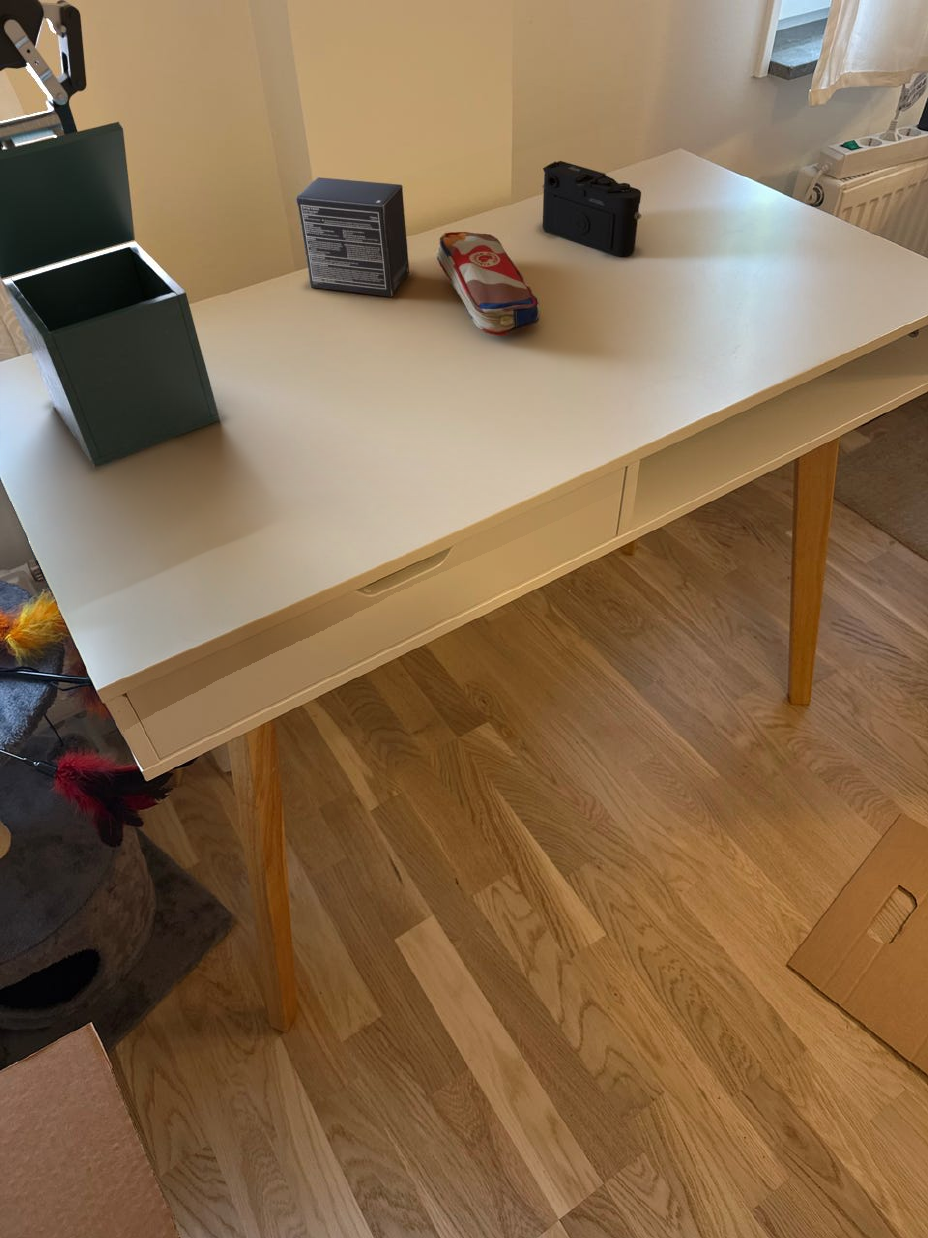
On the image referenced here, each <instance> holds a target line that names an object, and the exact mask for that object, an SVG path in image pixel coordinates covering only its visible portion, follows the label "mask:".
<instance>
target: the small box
mask: <svg viewBox="0 0 928 1238" xmlns="http://www.w3.org/2000/svg"><path fill="white" fill-rule="evenodd" d="M295 200H296V204H297V209H298V214H299V221H300V225H301V234H302V239H303V244H304V252H305V257H306V265H307V269H308V271H307V272H308V277H309V286H310V288H315V289H316V288H317V289H325V290H332V291H340V292H349V293H356V294H357V293H358V294H364V295H366V294H367V295H373V296H381V297H389V298H390V297H393V296H394V295H396V292H397V291H398V289H399V288H400V287H401V285H402V284H403V283H404V282H405V281H406V279H407V278H408V276H409V275H410V265H409V254H408V239H407V227H406V216H405V203H404V202H405V201H404V191H403V184H400V183H398V184H397V183H386V182H378V181H377V182H375V181H364V180H353V179H343V178H330V177H320V176H319V177H316V178H315V179H314V180H313V181H312V182H311V183H309V184H308V186H306V188H304V189H303V190H302V191H301V192H300V193H299V194H298V195H296V197H295Z"/></svg>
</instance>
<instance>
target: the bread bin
mask: <svg viewBox="0 0 928 1238" xmlns="http://www.w3.org/2000/svg"><path fill="white" fill-rule="evenodd" d="M1 283H2V285H3V288H4V291H5V292H6V294H7V297H8V299H9V301H10V304H11V307H12V309H13V311H14V314H15V316H16V320H17V321H18V324H19V326H20V328H21V331H22V333H23V335H24V338H25V340H26V343H27V346H28V347H29V350H30V352H31V354H32V357H33V359H34V362H35V364H36V367H37V369H38V371H39V374H40V377H41V378H42V382H43V384H44V386H45V388H46V391H47V394H48V396H49V398H50V401H51V403H52V405H53V407H54V408H55V410H56V411H57V413H58V414H59V416H60V417H61V419H62V421H63V422H64V424H65V425H66V426H67V428H68V429H69V431H70V432H71V434H72V435H73V437H74V438H75V440H76V441H77V443H78V445H79V446H80V448H81V449H82V450H83V452H84V453H85V455H86V456H87V458H88V460H89V461H90V462H91V464H92V465H93V467H94V468H98V467H101V466H103V465H105V464H108V463H111V462H113V461H116V460H119V459H121V458H125V457H126V456H130V455H132V454H135V453H137V452H140V451H142V450H145V449H148V448H150V447H153V446H155V445H158V444H161V443H163V442H166V441H169V440H171V439H174V438H177V437H179V436H182V435H184V434H188V433H190V432H193V431H195V430H198V429H200V428H203V427H205V426H208V425H211V424H213V423H216V422H219V421H220V420H221V418H220V415H219V411H218V407H217V403H216V400H215V396H214V392H213V388H212V385H211V382H210V381H211V380H210V377H209V374H208V370H207V367H206V363H205V359H204V355H203V351H202V348H201V344H200V340H199V336H198V333H197V329H196V324H195V322H194V317H193V313H192V310H191V307H190V303H189V299H188V296H187V292H186V291H185V290H184V289H183V288H182V287H181V286H180V285H179V284H178V283H177V282H176V281H175V280H174V279H173V278H172V277H171V276H170V275H169V274H168V273H166V271H165V269H163V268H162V267H161V266H160V265H159V264H158V263H157V262H156V261H155V260H154V259H153V258H152V257H151V256H150V255H149V254H148V253H147V252H146V251H145V250H144V249H143V248H142V247H141V246H140V245H139V243H137V242H136V241H130V242H127V243H123V244H120V245H117V246H113V247H110V248H106V249H105V250H104V249H103V250H100V251H96V252H93V253H89V254H86V255H83V256H79V257H76V258H72V259H71V260H70V259H69V260H66V261H62V262H59V263H55V264H52V265H49V266H45V267H42V268H38V269H35V270H32V271H28V272H25V273H21V274H18V275H15V276H11V277H10V278H9V277H8V278H5V279H2V280H1Z"/></svg>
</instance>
